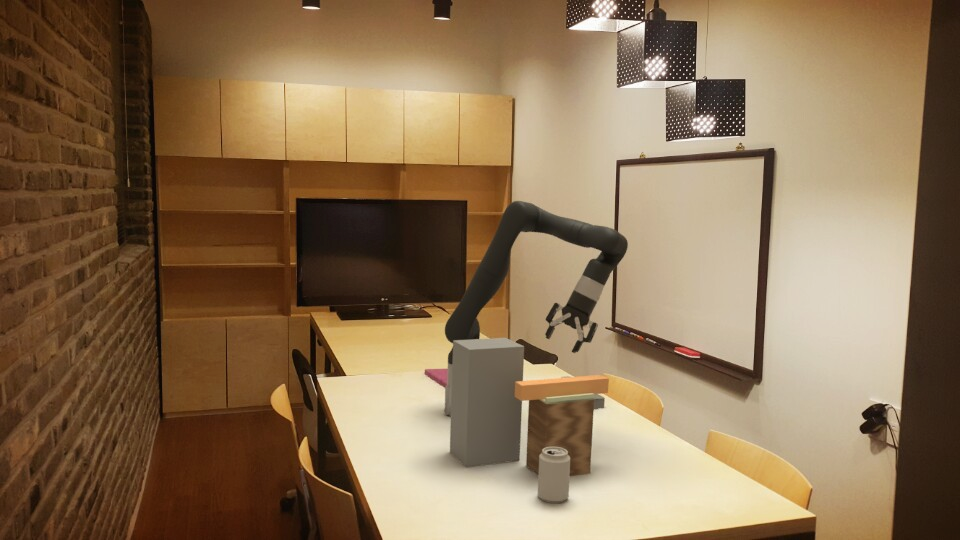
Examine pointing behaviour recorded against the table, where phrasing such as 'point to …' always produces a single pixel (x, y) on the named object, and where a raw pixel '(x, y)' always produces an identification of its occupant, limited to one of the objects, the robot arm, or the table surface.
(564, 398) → the green tray
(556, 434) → the walnut pedestal
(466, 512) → the table surface
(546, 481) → the can
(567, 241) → the robot arm
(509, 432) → the grey stand
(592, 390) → the orange wooden bar
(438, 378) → the thin magenta plate
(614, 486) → the table surface
